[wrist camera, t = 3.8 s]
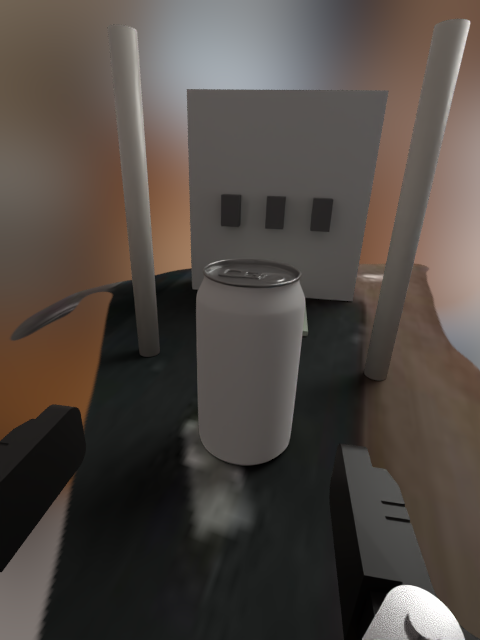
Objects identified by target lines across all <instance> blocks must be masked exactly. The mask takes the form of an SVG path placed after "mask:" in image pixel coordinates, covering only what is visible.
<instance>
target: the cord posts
mask: <svg viewBox="0 0 480 640" xmlns="http://www.w3.org/2000/svg"><path fill="white" fill-rule="evenodd" d="M469 26H470V21H469V20H466V19H453V20H446V21H443V22H440V23H438V24H437V25H435V27H434V32H433V37H432V41H431V46H430V51H429V56H428V61H427V66H426V71H425V76H424V80H423V86H422V90H421V95H420V100H419V105H418V110H417V115H416V120H415V125H414V129H413V134H412V139H411V144H410V149H409V154H408V159H407V164H406V169H405V174H404V178H403V183H402V188H401V194H400V199H399V203H398V208H397V213H396V218H395V222H394V227H393V232H392V237H391V242H390V247H389V252H388V257H387V262H386V267H385V271H384V276H383V281H382V286H381V291H380V296H379V301H378V306H377V311H376V316H375V320H374V325H373V330H372V335H371V340H370V345H369V350H368V355H367V360H366V364H365V369H364V374H365V375H366V376H367V377H368V378H370V379H373V380H385V379H386V377H387V373H388V369H389V365H390V360H391V356H392V352H393V348H394V343H395V339H396V335H397V331H398V326H399V322H400V318H401V314H402V310H403V305H404V301H405V297H406V293H407V288H408V284H409V280H410V276H411V271H412V267H413V263H414V259H415V254H416V250H417V246H418V242H419V238H420V233H421V229H422V225H423V220H424V216H425V212H426V208H427V203H428V200H429V195H430V191H431V187H432V182H433V178H434V174H435V169H436V166H437V161H438V157H439V153H440V148H441V144H442V140H443V136H444V132H445V127H446V123H447V119H448V115H449V111H450V106H451V102H452V98H453V94H454V90H455V85H456V81H457V77H458V73H459V68H460V64H461V60H462V56H463V51H464V47H465V43H466V39H467V34H468V30H469ZM108 37H109V46H110V57H111V67H112V77H113V88H114V98H115V107H116V118H117V129H118V139H119V149H120V159H121V169H122V180H123V190H124V200H125V210H126V220H127V230H128V241H129V251H130V261H131V270H132V281H133V292H134V302H135V312H136V322H137V332H138V343H139V353H140V355H141V356H144V357H152V356H156V355H157V354H159V353H160V345H159V331H158V317H157V303H156V289H155V275H154V261H153V247H152V234H151V220H150V205H149V191H148V176H147V162H146V148H145V134H144V121H143V108H142V107H143V106H142V92H141V79H140V64H139V51H138V50H139V49H138V36H137V30H136V29H134V28H132V27H129V26H125V25H110V26H108Z"/></svg>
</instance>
